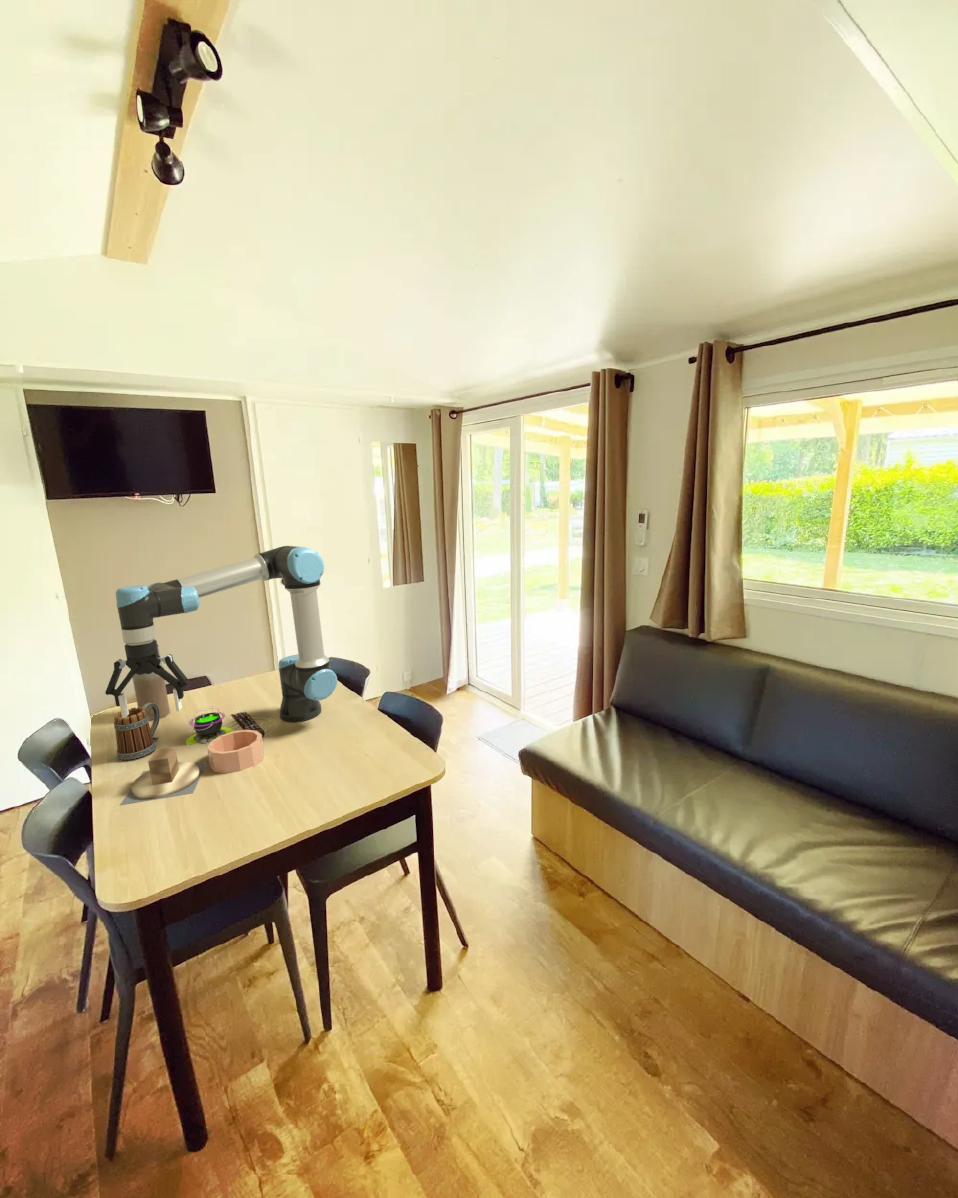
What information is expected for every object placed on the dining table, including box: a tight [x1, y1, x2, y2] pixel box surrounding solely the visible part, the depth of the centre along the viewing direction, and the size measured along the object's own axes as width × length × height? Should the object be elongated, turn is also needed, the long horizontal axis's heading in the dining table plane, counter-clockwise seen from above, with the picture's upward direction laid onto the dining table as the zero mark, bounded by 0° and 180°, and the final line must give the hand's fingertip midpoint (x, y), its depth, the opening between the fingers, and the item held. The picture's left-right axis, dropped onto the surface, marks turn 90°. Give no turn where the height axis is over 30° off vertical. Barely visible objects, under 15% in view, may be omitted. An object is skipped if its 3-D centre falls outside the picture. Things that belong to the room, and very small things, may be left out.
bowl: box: [207, 729, 265, 774], centre depth 159 cm, size 15×15×7 cm
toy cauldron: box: [185, 705, 234, 746], centre depth 175 cm, size 15×15×11 cm
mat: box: [119, 760, 209, 806], centre depth 148 cm, size 18×18×1 cm
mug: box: [113, 703, 161, 762], centre depth 166 cm, size 16×11×15 cm
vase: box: [132, 643, 171, 722], centre depth 193 cm, size 10×10×28 cm
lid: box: [130, 746, 200, 799], centre depth 147 cm, size 17×17×9 cm
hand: (152, 712), depth 144 cm, fingers open, 13 cm apart
